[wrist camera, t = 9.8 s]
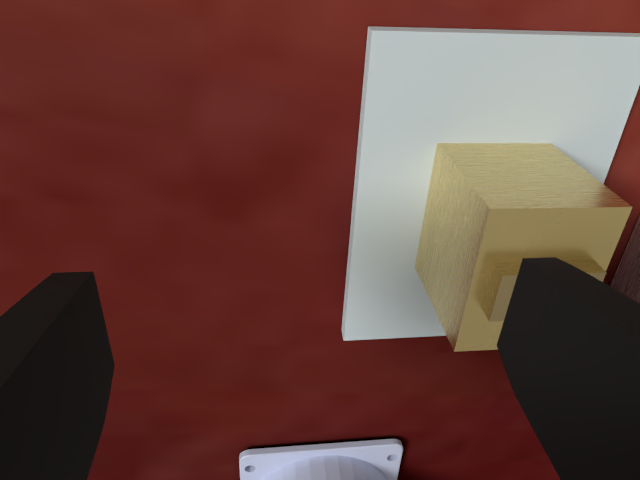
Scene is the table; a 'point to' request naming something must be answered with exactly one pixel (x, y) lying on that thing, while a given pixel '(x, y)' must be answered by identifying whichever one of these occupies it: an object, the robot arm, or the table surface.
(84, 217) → the table surface
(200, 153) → the table surface
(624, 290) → the grey piece
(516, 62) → the mat
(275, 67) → the table surface
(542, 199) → the wooden block with pad
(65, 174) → the table surface
